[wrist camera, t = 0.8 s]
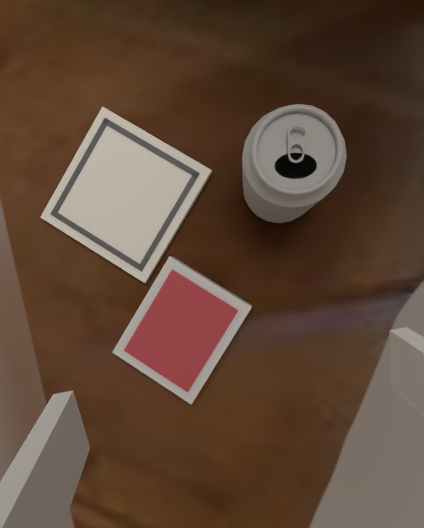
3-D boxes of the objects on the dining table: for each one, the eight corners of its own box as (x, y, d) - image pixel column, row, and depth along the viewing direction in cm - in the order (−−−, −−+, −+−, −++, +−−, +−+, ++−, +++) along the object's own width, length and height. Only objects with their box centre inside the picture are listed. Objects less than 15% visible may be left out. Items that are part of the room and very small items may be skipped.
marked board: (105, 110, 35) (102, 106, 34) (212, 172, 34) (211, 169, 33) (44, 218, 36) (39, 217, 35) (146, 282, 35) (144, 283, 34)
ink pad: (172, 256, 34) (168, 256, 33) (251, 305, 34) (251, 307, 32) (118, 348, 35) (111, 353, 33) (193, 398, 34) (190, 405, 32)
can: (242, 223, 34) (240, 203, 22) (243, 153, 34) (243, 94, 22) (314, 224, 33) (353, 203, 21) (315, 152, 33) (356, 90, 21)
